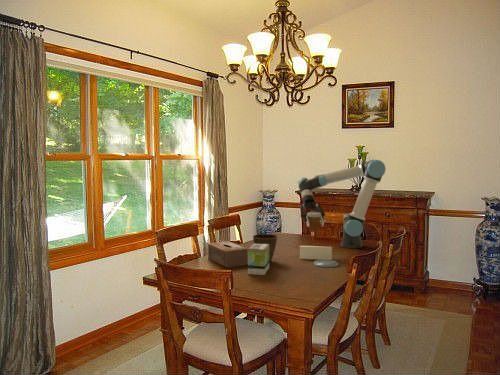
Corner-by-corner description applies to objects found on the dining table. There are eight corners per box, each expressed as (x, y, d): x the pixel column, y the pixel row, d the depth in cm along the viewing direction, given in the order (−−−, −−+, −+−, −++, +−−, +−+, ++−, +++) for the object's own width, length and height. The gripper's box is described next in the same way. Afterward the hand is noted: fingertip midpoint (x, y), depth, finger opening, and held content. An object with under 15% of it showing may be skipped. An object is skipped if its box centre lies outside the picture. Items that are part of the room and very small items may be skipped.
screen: (299, 258, 272) (299, 246, 272) (299, 258, 274) (300, 245, 274) (331, 259, 269) (331, 247, 268) (331, 259, 271) (331, 246, 270)
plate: (326, 259, 269) (326, 258, 269) (344, 265, 257) (344, 263, 257) (308, 263, 261) (308, 262, 261) (325, 268, 248) (325, 267, 248)
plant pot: (264, 257, 277) (264, 233, 276) (282, 261, 267) (282, 236, 265) (248, 261, 267) (248, 236, 265) (265, 265, 256) (265, 239, 255)
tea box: (265, 275, 236) (265, 249, 235) (247, 274, 238) (247, 248, 237) (269, 268, 251) (269, 243, 250) (252, 267, 253) (252, 242, 252)
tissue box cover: (247, 264, 260) (247, 248, 259) (226, 268, 253) (226, 251, 252) (228, 256, 282) (228, 241, 282) (208, 258, 275) (208, 243, 274)
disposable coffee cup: (305, 229, 285) (305, 211, 284) (319, 229, 286) (319, 211, 284) (308, 232, 276) (308, 214, 274) (322, 232, 276) (322, 214, 275)
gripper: (321, 200, 296) (329, 227, 282) (291, 201, 291) (298, 229, 277) (324, 193, 290) (333, 221, 276) (293, 194, 285) (301, 222, 272)
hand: (315, 225), depth 277 cm, fingers closed on disposable coffee cup, 9 cm apart
